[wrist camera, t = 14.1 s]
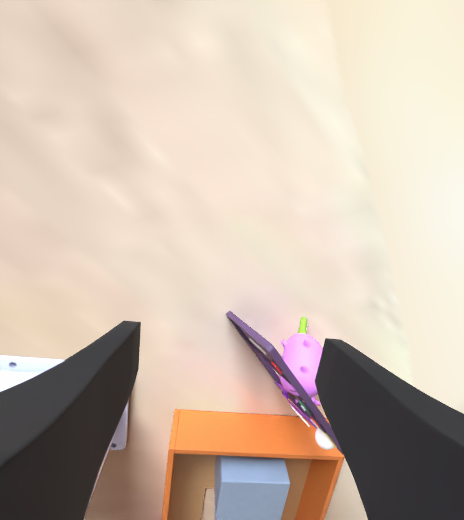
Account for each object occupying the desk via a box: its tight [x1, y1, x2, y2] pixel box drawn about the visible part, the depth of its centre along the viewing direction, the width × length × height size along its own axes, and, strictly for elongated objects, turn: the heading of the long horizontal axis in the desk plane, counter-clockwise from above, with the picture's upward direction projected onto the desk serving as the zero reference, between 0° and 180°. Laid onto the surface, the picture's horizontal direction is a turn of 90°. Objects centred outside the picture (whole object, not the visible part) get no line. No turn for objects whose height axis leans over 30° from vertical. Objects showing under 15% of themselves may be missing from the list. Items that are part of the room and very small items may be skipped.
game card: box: [226, 311, 343, 454], centre depth 19 cm, size 7×5×9 cm
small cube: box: [215, 455, 290, 520], centre depth 23 cm, size 5×4×4 cm
